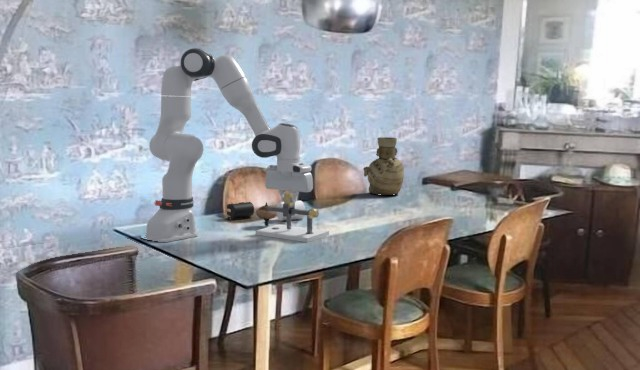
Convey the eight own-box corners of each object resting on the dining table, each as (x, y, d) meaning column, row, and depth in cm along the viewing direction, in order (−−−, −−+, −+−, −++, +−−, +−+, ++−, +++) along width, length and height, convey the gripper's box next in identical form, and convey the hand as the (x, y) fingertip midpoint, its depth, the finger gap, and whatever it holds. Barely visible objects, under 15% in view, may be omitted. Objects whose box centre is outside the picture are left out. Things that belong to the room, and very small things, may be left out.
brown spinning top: (252, 226, 285) (252, 201, 284) (268, 223, 290) (268, 199, 289) (264, 229, 279) (263, 204, 277) (280, 226, 284) (280, 202, 283)
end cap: (235, 221, 296) (234, 205, 295) (226, 218, 301) (225, 203, 300) (254, 218, 302) (254, 202, 301) (245, 215, 308) (245, 200, 307)
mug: (276, 219, 300) (276, 200, 299) (297, 217, 304) (297, 199, 303) (287, 224, 289) (287, 205, 288) (309, 222, 294) (309, 203, 293)
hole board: (307, 242, 256) (307, 237, 256) (255, 234, 269) (255, 230, 268) (329, 234, 269) (329, 230, 268) (278, 227, 281) (278, 224, 281)
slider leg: (288, 230, 267) (288, 194, 265) (282, 229, 268) (282, 193, 266) (295, 228, 270) (294, 192, 268) (289, 227, 272) (289, 192, 270)
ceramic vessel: (363, 191, 377) (364, 135, 373) (402, 191, 375) (403, 136, 371) (362, 197, 358) (363, 138, 354) (404, 197, 357) (405, 139, 352)
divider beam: (315, 234, 261) (315, 209, 260) (267, 228, 273) (267, 204, 272) (318, 233, 263) (318, 208, 262) (271, 227, 275) (270, 203, 274)
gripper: (261, 165, 269) (262, 200, 270) (305, 168, 258) (306, 205, 260) (271, 163, 274) (271, 198, 276) (315, 167, 263) (315, 203, 265)
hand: (288, 202), depth 268 cm, fingers closed on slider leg, 3 cm apart
